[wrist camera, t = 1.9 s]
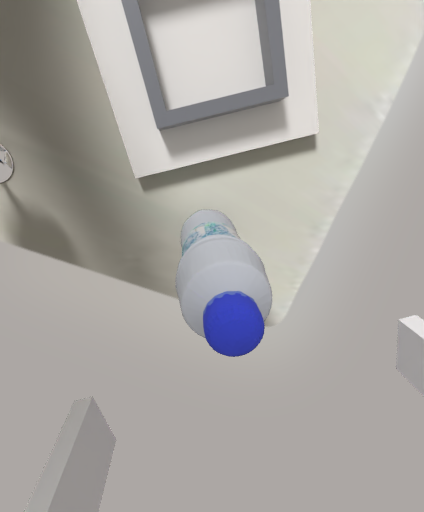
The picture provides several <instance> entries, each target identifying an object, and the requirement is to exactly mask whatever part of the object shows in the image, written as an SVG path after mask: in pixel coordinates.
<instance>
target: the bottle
mask: <svg viewBox="0 0 424 512" xmlns="http://www.w3.org/2000/svg"><path fill="white" fill-rule="evenodd" d="M181 246H182V258H181V260H180V262H179V265H178V269H177V274H176V290H177V294H178V297H179V301H180V306H181V311H182V315H183V317H184V319H185V321H186V323H187V324H188V325H189V327H190V328H191V329H192V330H193V331H195V332H196V333H197V334H198V335H200V336H202V337H204V338H206V340H207V342H208V343H209V345H210V346H211V347H212V348H213V349H214V350H215V351H216V352H218V353H220V354H223V355H226V356H233V357H235V356H241V355H245V354H247V353H249V352H250V351H252V350H253V349H254V348H256V346H257V345H258V344H259V343H260V341H261V339H262V337H263V334H264V321H265V319H266V318H267V316H268V314H269V311H270V309H271V305H272V291H271V287H270V284H269V281H268V278H267V275H266V273H265V268H264V265H263V263H262V261H261V259H260V257H259V256H258V255H257V253H256V252H255V251H254V250H253V249H252V248H251V247H250V246H249V245H248V244H247V243H245V242H244V241H242V240H241V239H240V237H239V236H238V234H237V232H236V229H235V227H234V225H233V223H232V222H231V220H230V219H229V218H228V217H227V216H226V215H224V214H223V213H222V212H220V211H217V210H199V211H197V212H195V213H194V214H193V215H191V216H190V217H189V218H188V219H187V220H186V221H185V223H184V225H183V227H182V231H181Z"/></svg>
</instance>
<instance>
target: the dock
mask: <svg viewBox="0 0 424 512" xmlns="http://www.w3.org/2000/svg"><path fill="white" fill-rule="evenodd" d="M77 3H78V6H79V9H80V13H81V16H82V19H83V22H84V25H85V28H86V31H87V34H88V37H89V40H90V43H91V46H92V49H93V52H94V55H95V58H96V61H97V64H98V67H99V70H100V73H101V76H102V79H103V82H104V85H105V88H106V91H107V94H108V97H109V100H110V104H111V107H112V110H113V113H114V116H115V119H116V122H117V125H118V128H119V131H120V134H121V137H122V140H123V143H124V146H125V149H126V152H127V155H128V158H129V161H130V164H131V167H132V170H133V173H134V176H135V179H136V178H140V177H144V176H148V175H152V174H156V173H160V172H164V171H168V170H172V169H176V168H180V167H184V166H188V165H192V164H196V163H200V162H204V161H208V160H212V159H216V158H220V157H224V156H228V155H232V154H236V153H240V152H244V151H248V150H252V149H256V148H260V147H264V146H268V145H272V144H276V143H280V142H284V141H288V140H293V139H297V138H301V137H305V136H309V135H313V134H317V133H319V125H318V110H317V95H316V79H315V64H314V49H313V34H312V18H311V3H310V0H77Z"/></svg>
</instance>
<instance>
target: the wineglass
mask: <svg viewBox="0 0 424 512" xmlns="http://www.w3.org/2000/svg"><path fill="white" fill-rule="evenodd" d="M12 172H13V160H12V158H11V155H10V154H9V152H8V151H7V149H6V148H5V147H4V146H3V145H1V144H0V183H2V182H4V181H6V180H8V179H9V178H10V176H11V175H12Z"/></svg>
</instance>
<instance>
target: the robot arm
mask: <svg viewBox="0 0 424 512" xmlns="http://www.w3.org/2000/svg"><path fill="white" fill-rule="evenodd" d="M396 369H397V370H398V371H399V372H400V373H401V374H402V375H403V376H404V377H405V378H406V379H407V380H408V381H409V382H410V383H411V384H412V385H413V386H414V387H415V388H416V389H417V390H418V391H419V392H420V393H421V394H422V395H423V396H424V320H423V319H421V318H419V317H418V316H417V315H415V316H411V317H407V318H403V319H399V320H398V341H397V365H396ZM115 442H116V438H115V436H114V435H113V433H112V431H111V429H110V427H109V425H108V424H107V422H106V420H105V418H104V416H103V415H102V413H101V411H100V409H99V407H98V406H97V404H96V402H95V400H94V398H93V397H89V398H84V399H80V400H76V401H74V403H73V406H72V407H71V410H70V412H69V414H68V416H67V418H66V421H65V423H64V425H63V427H62V430H61V432H60V434H59V436H58V438H57V440H56V443H55V445H54V447H53V449H52V451H51V454H50V456H49V458H48V460H47V462H46V464H45V467H44V469H43V471H42V473H41V475H40V478H39V480H38V482H37V484H36V487H35V488H34V491H33V493H32V495H31V497H30V499H29V502H28V504H27V506H26V508H25V510H24V512H98V511H99V507H100V503H101V499H102V495H103V491H104V487H105V483H106V479H107V475H108V471H109V467H110V462H111V458H112V454H113V450H114V446H115Z"/></svg>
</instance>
